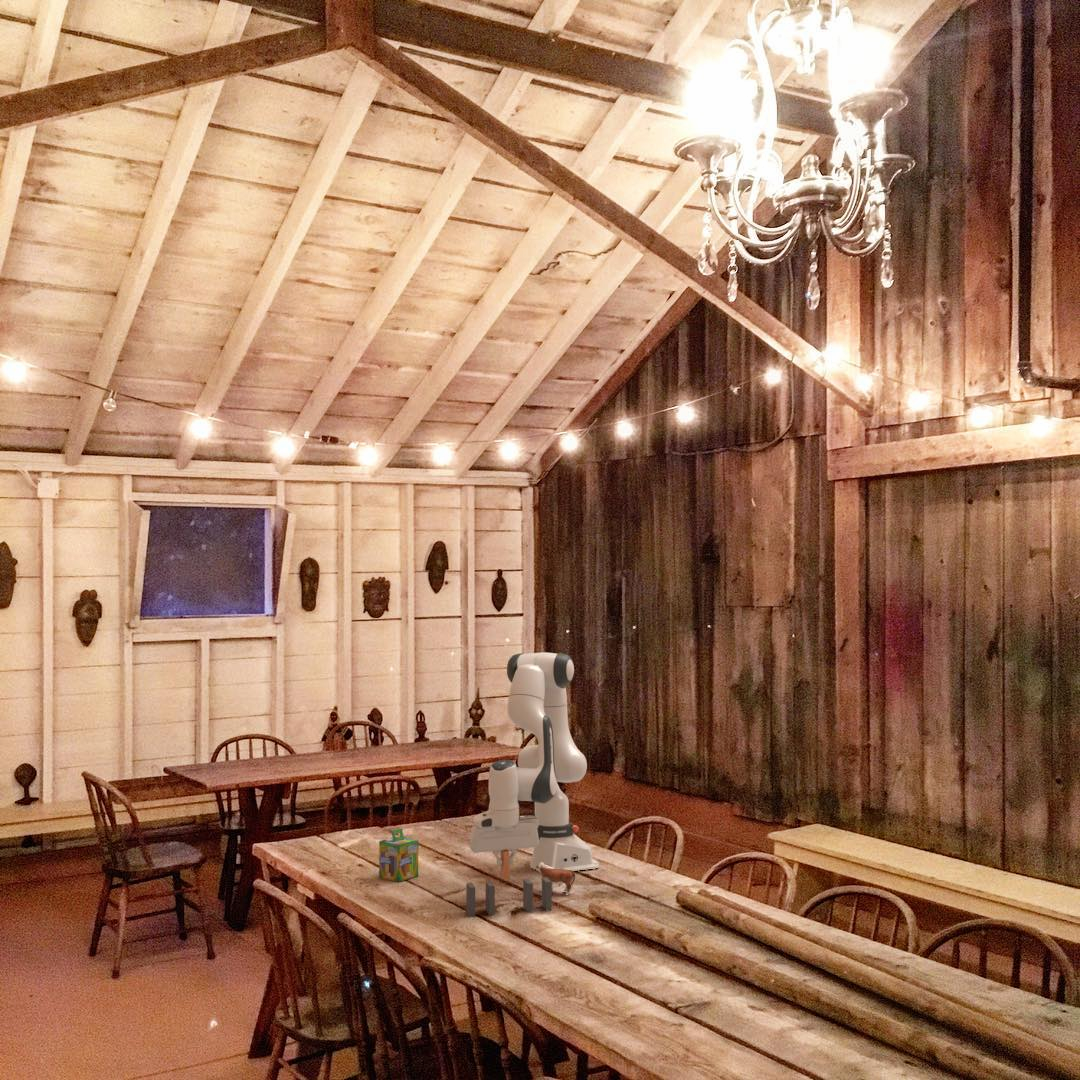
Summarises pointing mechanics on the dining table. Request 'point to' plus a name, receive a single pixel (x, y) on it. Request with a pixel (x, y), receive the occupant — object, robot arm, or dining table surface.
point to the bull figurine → (557, 875)
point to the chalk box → (398, 858)
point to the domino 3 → (505, 864)
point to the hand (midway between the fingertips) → (504, 864)
